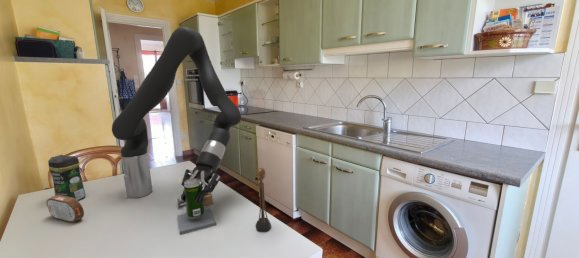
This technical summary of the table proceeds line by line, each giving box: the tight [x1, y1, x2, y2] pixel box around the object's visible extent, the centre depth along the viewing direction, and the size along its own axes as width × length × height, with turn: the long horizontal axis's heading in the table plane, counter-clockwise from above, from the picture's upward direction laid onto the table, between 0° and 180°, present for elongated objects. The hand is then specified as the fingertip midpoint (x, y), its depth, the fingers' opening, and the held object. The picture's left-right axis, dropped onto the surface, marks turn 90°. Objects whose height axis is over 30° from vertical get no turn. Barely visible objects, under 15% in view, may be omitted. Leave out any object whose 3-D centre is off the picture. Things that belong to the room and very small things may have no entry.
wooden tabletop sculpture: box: [254, 167, 272, 233], centre depth 80 cm, size 6×5×20 cm
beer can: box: [183, 178, 205, 219], centre depth 86 cm, size 5×5×12 cm
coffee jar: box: [47, 154, 87, 202], centre depth 105 cm, size 10×8×19 cm
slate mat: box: [176, 207, 217, 235], centre depth 87 cm, size 11×11×1 cm
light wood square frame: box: [176, 192, 214, 207], centre depth 100 cm, size 12×9×4 cm
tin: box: [46, 194, 85, 223], centre depth 90 cm, size 15×3×8 cm, turn 71°
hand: (190, 201), depth 84 cm, fingers closed on beer can, 5 cm apart
